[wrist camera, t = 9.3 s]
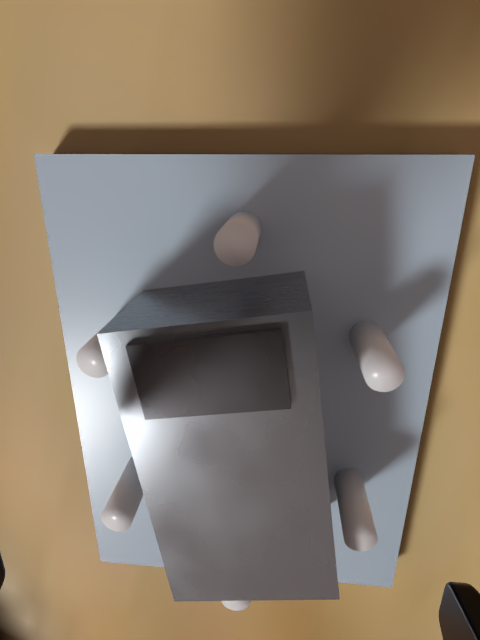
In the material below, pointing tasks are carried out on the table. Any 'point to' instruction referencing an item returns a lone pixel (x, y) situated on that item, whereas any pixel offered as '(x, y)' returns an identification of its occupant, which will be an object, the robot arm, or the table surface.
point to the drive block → (228, 436)
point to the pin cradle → (260, 260)
